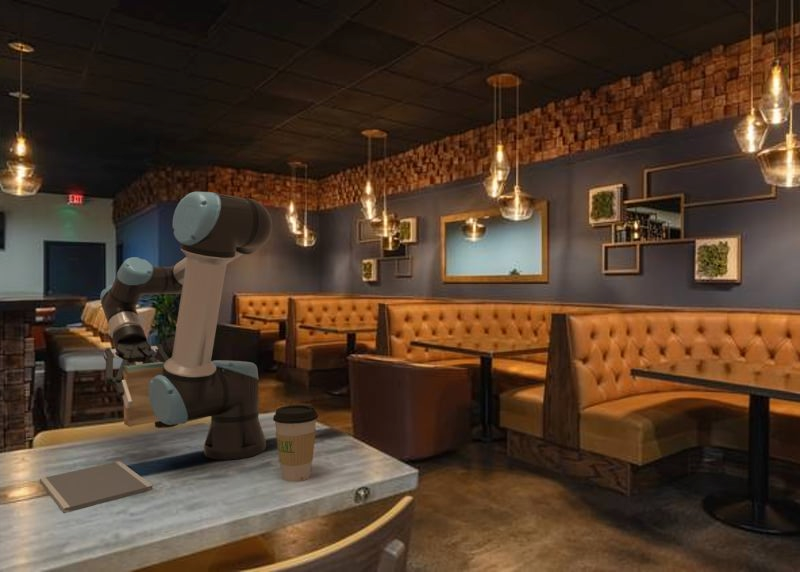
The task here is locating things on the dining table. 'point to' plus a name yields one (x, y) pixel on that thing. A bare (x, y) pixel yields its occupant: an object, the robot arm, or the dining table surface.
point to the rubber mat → (93, 485)
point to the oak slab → (140, 392)
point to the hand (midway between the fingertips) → (150, 401)
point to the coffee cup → (295, 440)
